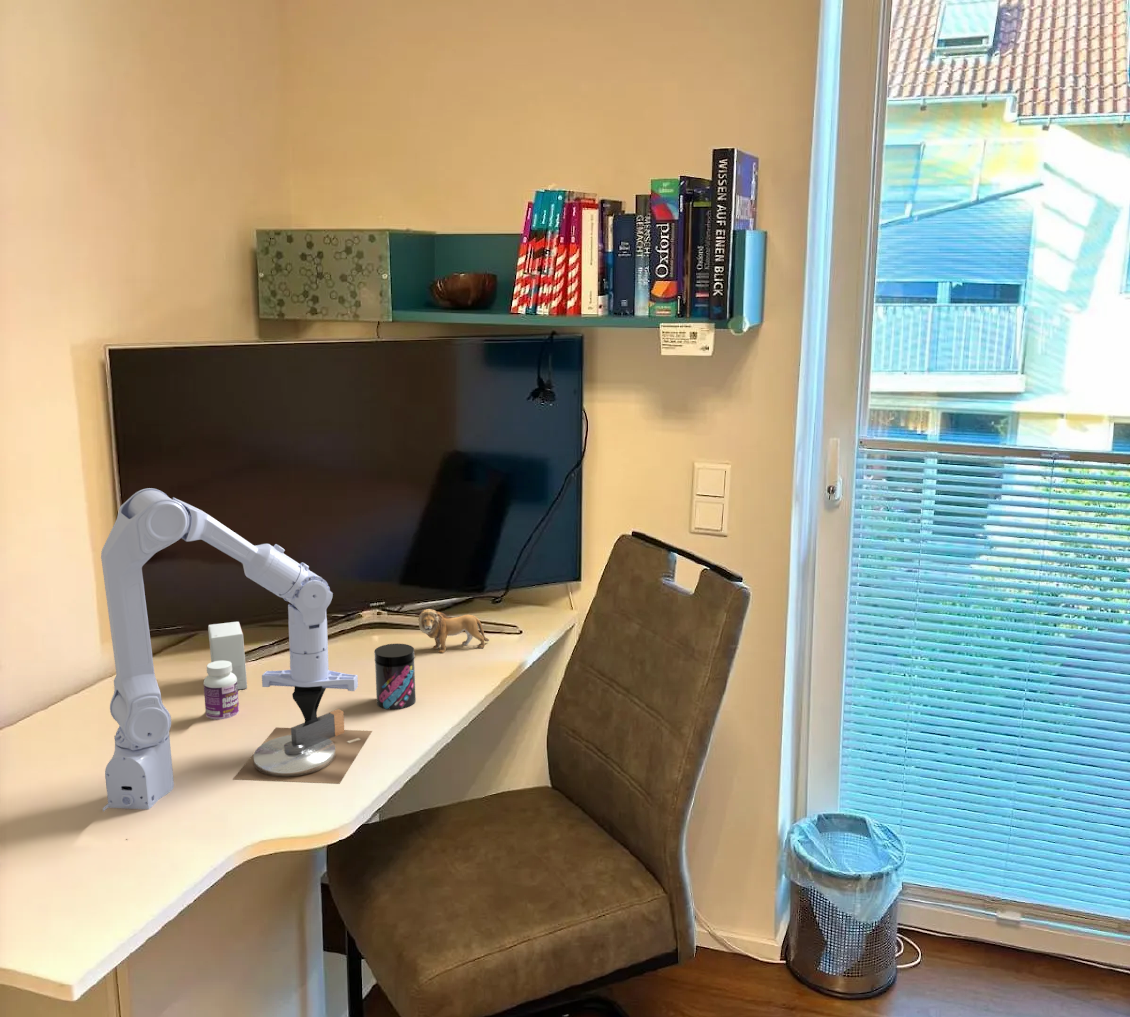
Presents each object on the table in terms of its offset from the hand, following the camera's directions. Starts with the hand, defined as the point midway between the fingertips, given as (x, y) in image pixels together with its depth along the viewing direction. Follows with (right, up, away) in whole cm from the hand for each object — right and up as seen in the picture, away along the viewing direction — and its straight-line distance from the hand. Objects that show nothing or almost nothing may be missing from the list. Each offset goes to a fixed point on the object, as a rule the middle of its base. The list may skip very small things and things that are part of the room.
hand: (311, 730), depth 164 cm
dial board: (0, -4, -2) cm, 5 cm away
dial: (-1, -3, -3) cm, 4 cm away
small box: (-22, +2, +28) cm, 36 cm away
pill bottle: (-18, -1, +13) cm, 23 cm away
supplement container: (+10, 0, +18) cm, 21 cm away
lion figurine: (+17, +6, +46) cm, 49 cm away
